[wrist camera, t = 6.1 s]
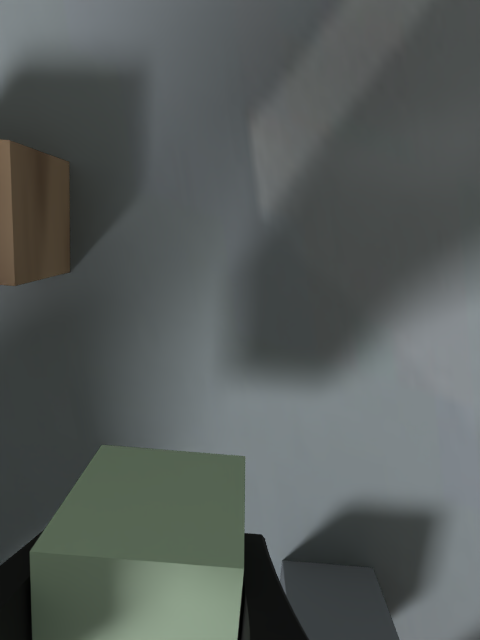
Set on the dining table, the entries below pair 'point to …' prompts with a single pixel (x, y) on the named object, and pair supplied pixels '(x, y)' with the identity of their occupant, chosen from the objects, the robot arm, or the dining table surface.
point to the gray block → (337, 601)
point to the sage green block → (144, 550)
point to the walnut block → (33, 215)
